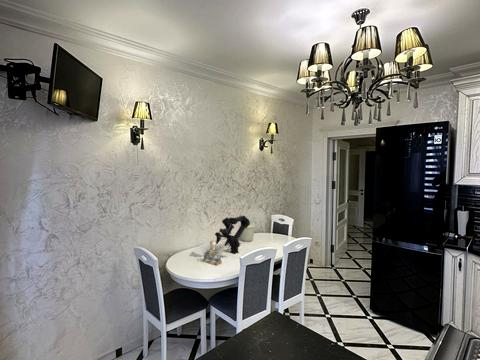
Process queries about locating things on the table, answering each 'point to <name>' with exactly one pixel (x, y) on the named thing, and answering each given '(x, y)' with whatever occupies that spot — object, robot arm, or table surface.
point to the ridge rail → (212, 260)
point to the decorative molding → (201, 249)
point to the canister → (248, 233)
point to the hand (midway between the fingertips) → (220, 244)
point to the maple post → (212, 248)
